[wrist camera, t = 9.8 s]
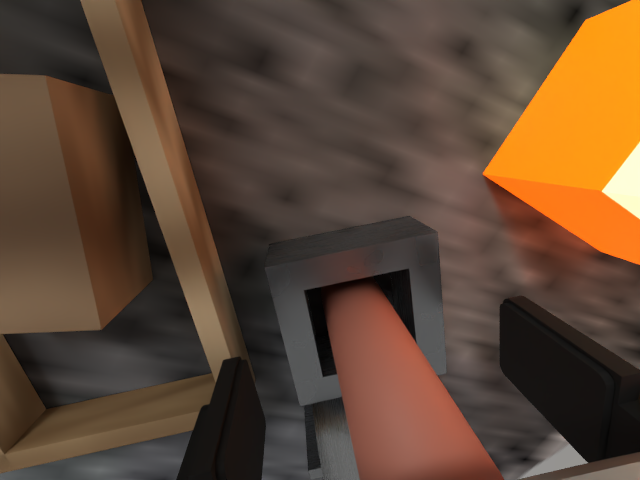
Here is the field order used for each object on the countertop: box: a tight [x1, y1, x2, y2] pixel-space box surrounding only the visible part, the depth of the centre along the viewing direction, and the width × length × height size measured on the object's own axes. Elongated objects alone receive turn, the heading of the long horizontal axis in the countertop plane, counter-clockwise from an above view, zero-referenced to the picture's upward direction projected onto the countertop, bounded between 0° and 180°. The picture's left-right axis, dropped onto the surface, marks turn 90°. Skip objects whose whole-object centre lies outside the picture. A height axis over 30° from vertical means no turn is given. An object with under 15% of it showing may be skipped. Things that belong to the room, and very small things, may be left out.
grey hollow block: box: [265, 216, 447, 480], centre depth 14 cm, size 12×7×5 cm, turn 10°
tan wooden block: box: [0, 74, 153, 334], centre depth 11 cm, size 8×7×4 cm
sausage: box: [321, 276, 504, 480], centre depth 11 cm, size 3×3×10 cm
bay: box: [0, 0, 256, 473], centre depth 13 cm, size 18×12×2 cm, turn 10°
